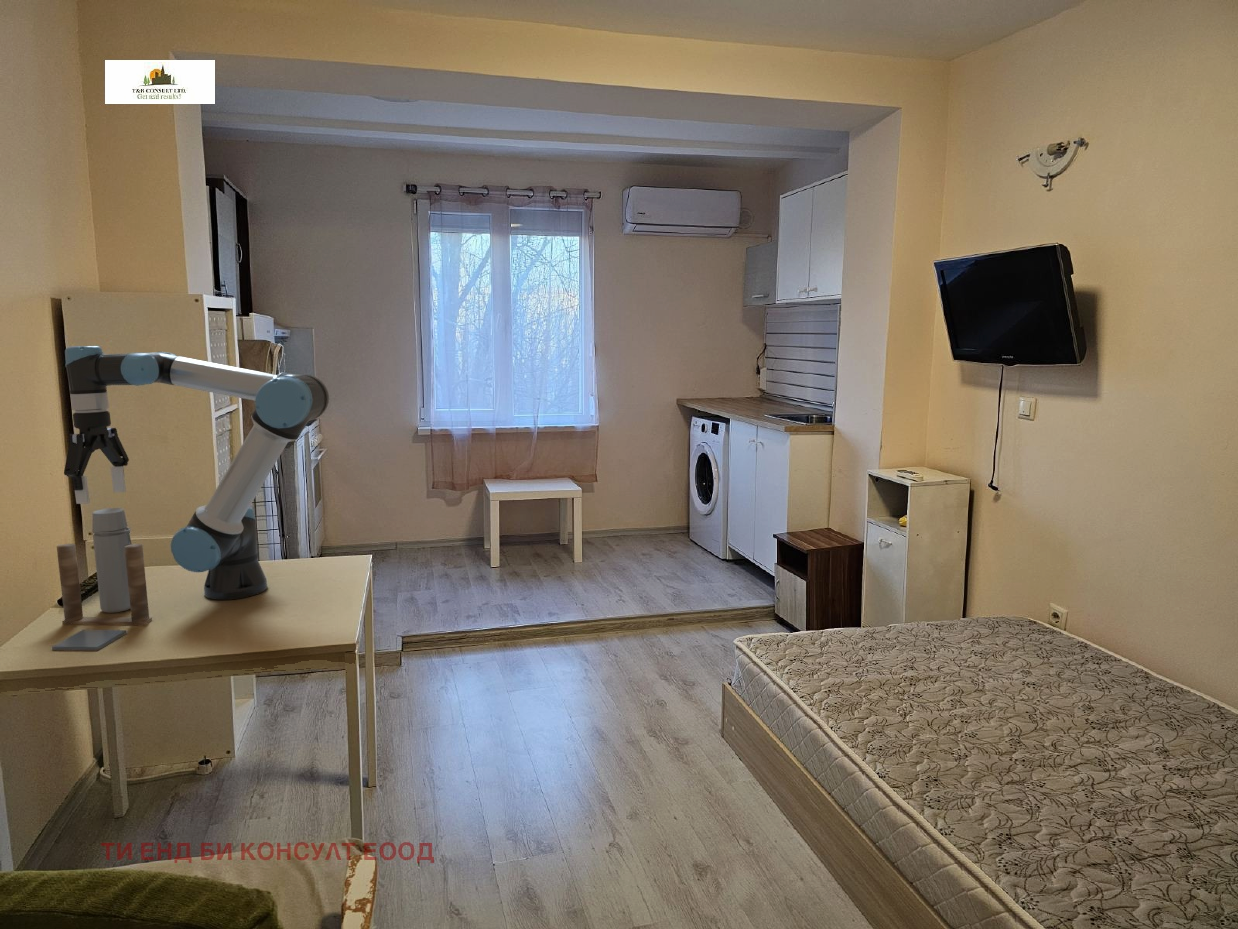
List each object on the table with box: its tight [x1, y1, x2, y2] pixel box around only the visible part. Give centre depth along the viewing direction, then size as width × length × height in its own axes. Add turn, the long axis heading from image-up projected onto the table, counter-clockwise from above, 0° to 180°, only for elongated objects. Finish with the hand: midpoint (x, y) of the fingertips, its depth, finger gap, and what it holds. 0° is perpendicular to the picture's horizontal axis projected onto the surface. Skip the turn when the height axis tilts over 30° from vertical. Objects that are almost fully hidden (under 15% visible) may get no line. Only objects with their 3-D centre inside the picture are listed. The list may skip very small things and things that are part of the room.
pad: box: [51, 629, 127, 652], centre depth 179 cm, size 10×10×1 cm
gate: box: [56, 543, 153, 626], centre depth 189 cm, size 20×4×19 cm, turn 89°
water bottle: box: [91, 507, 133, 614], centre depth 198 cm, size 9×8×25 cm
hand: (102, 497), depth 196 cm, fingers open, 13 cm apart
